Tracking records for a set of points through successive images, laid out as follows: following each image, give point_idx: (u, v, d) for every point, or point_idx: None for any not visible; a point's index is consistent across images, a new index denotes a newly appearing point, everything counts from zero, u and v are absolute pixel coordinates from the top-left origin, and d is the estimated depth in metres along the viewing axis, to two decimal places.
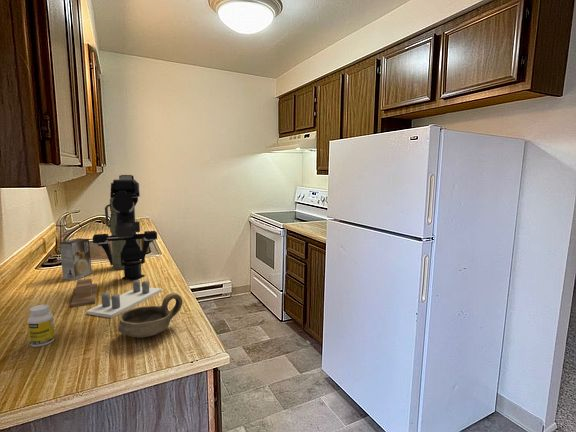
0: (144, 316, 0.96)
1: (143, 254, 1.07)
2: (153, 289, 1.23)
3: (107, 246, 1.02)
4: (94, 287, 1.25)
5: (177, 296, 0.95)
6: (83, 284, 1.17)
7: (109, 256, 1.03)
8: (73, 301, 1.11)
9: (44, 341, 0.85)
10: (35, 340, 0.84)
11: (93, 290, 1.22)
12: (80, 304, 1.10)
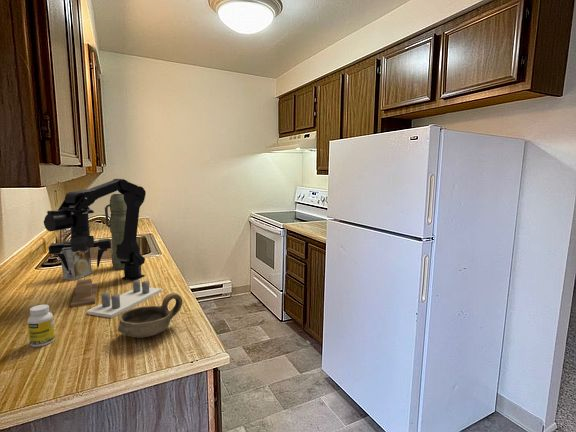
0: (144, 316, 0.96)
1: (98, 261, 1.19)
2: (153, 289, 1.23)
3: (63, 256, 1.13)
4: (94, 287, 1.25)
5: (177, 296, 0.95)
6: (83, 284, 1.17)
7: (65, 264, 1.14)
8: (73, 301, 1.11)
9: (44, 341, 0.85)
10: (35, 340, 0.84)
11: (93, 290, 1.22)
12: (80, 304, 1.10)
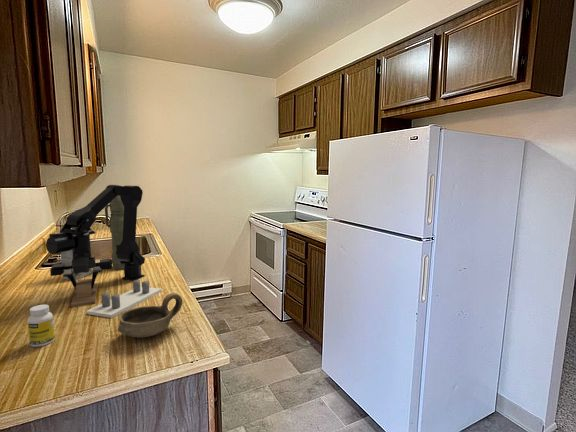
0: (144, 316, 0.96)
1: (92, 282, 1.19)
2: (153, 289, 1.23)
3: (72, 276, 1.15)
4: (94, 287, 1.25)
5: (177, 296, 0.95)
6: (83, 284, 1.17)
7: (74, 284, 1.16)
8: (73, 301, 1.11)
9: (44, 341, 0.85)
10: (35, 340, 0.84)
11: (94, 290, 1.22)
12: (80, 304, 1.10)
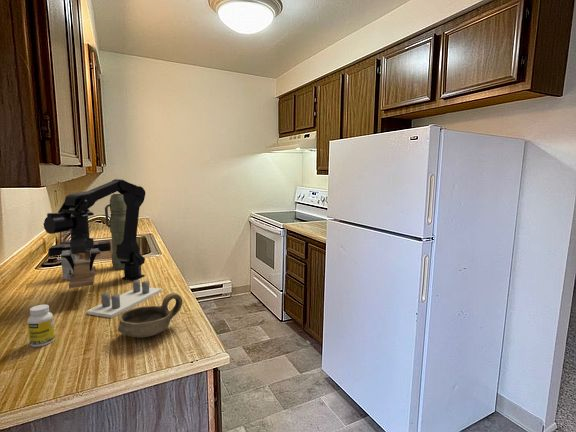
0: (144, 316, 0.96)
1: (91, 264, 1.18)
2: (153, 289, 1.23)
3: (70, 257, 1.14)
4: (92, 269, 1.24)
5: (177, 296, 0.95)
6: (81, 265, 1.16)
7: (72, 265, 1.15)
8: (71, 281, 1.10)
9: (44, 341, 0.85)
10: (35, 340, 0.84)
11: (92, 271, 1.21)
12: (78, 284, 1.09)
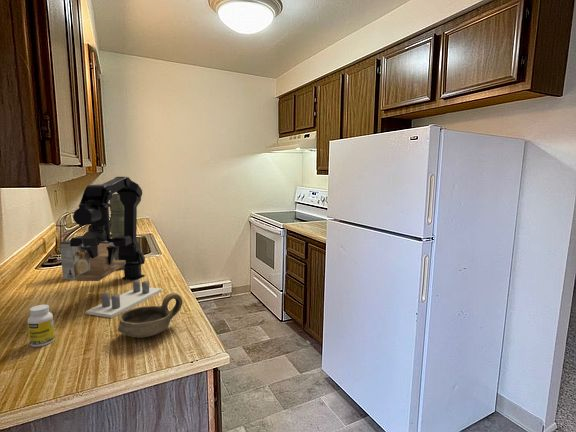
0: (144, 316, 0.96)
1: (109, 258, 1.13)
2: (153, 289, 1.23)
3: (89, 249, 1.12)
4: (117, 263, 1.20)
5: (177, 296, 0.95)
6: (99, 258, 1.12)
7: (92, 257, 1.13)
8: (82, 274, 1.07)
9: (44, 341, 0.85)
10: (35, 340, 0.84)
11: (113, 266, 1.17)
12: (85, 278, 1.05)
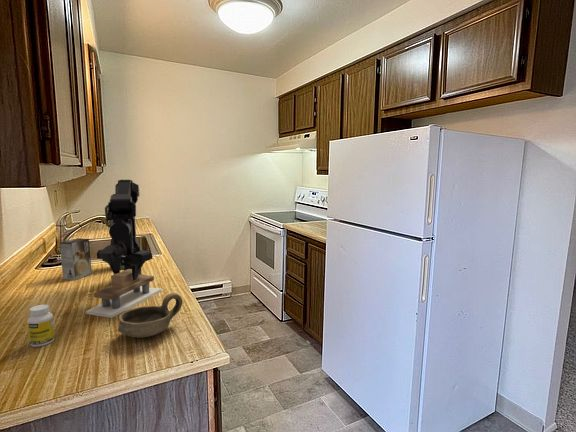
0: (144, 316, 0.96)
1: (133, 273, 1.10)
2: (153, 289, 1.23)
3: (109, 262, 1.11)
4: (142, 280, 1.17)
5: (177, 296, 0.95)
6: (121, 274, 1.11)
7: (113, 270, 1.13)
8: (101, 290, 1.07)
9: (44, 341, 0.85)
10: (35, 340, 0.84)
11: (136, 283, 1.14)
12: (100, 295, 1.04)
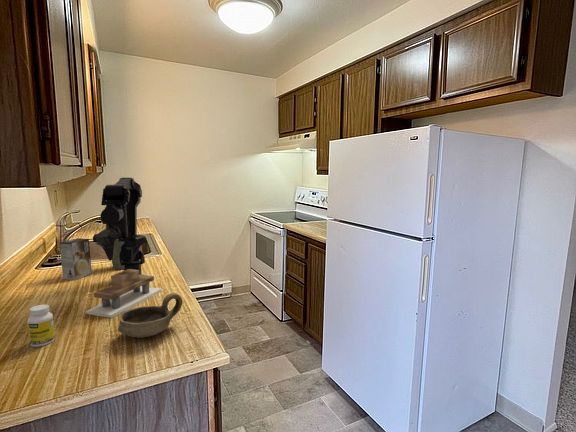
0: (144, 316, 0.96)
1: (129, 256, 1.16)
2: (153, 289, 1.23)
3: (103, 246, 1.17)
4: (142, 280, 1.17)
5: (177, 296, 0.95)
6: (121, 274, 1.11)
7: (106, 253, 1.19)
8: (101, 290, 1.07)
9: (44, 341, 0.85)
10: (35, 340, 0.84)
11: (136, 283, 1.14)
12: (100, 295, 1.04)
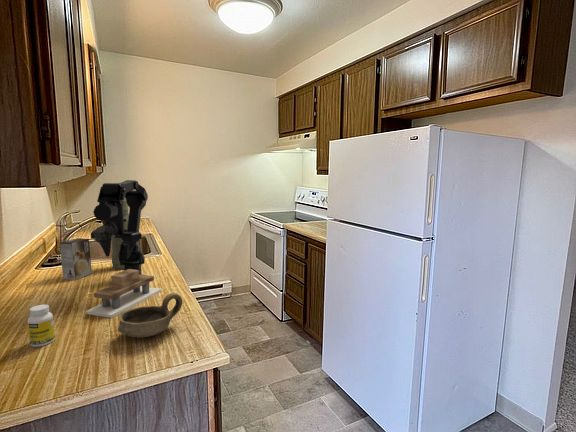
0: (144, 316, 0.96)
1: (125, 252, 1.20)
2: (153, 289, 1.23)
3: (100, 242, 1.21)
4: (142, 280, 1.17)
5: (177, 296, 0.95)
6: (121, 274, 1.11)
7: (104, 249, 1.23)
8: (101, 290, 1.07)
9: (44, 341, 0.85)
10: (35, 340, 0.84)
11: (136, 283, 1.14)
12: (100, 295, 1.04)
